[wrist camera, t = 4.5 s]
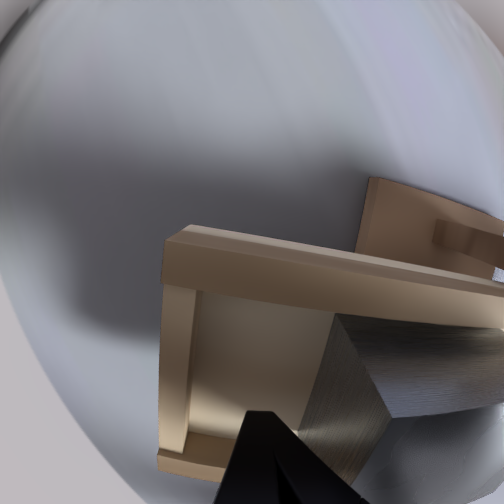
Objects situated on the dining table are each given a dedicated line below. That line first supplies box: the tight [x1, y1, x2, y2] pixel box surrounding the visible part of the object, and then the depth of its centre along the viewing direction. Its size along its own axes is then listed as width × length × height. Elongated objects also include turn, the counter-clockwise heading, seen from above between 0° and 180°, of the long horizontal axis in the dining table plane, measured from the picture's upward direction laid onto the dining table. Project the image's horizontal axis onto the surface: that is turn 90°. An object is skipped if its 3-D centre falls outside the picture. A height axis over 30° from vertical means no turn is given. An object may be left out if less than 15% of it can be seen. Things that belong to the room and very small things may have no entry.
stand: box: [354, 177, 504, 280], centre depth 12 cm, size 14×10×7 cm
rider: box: [297, 313, 504, 504], centre depth 7 cm, size 5×7×4 cm
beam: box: [157, 224, 504, 483], centre depth 9 cm, size 8×25×3 cm, turn 80°
